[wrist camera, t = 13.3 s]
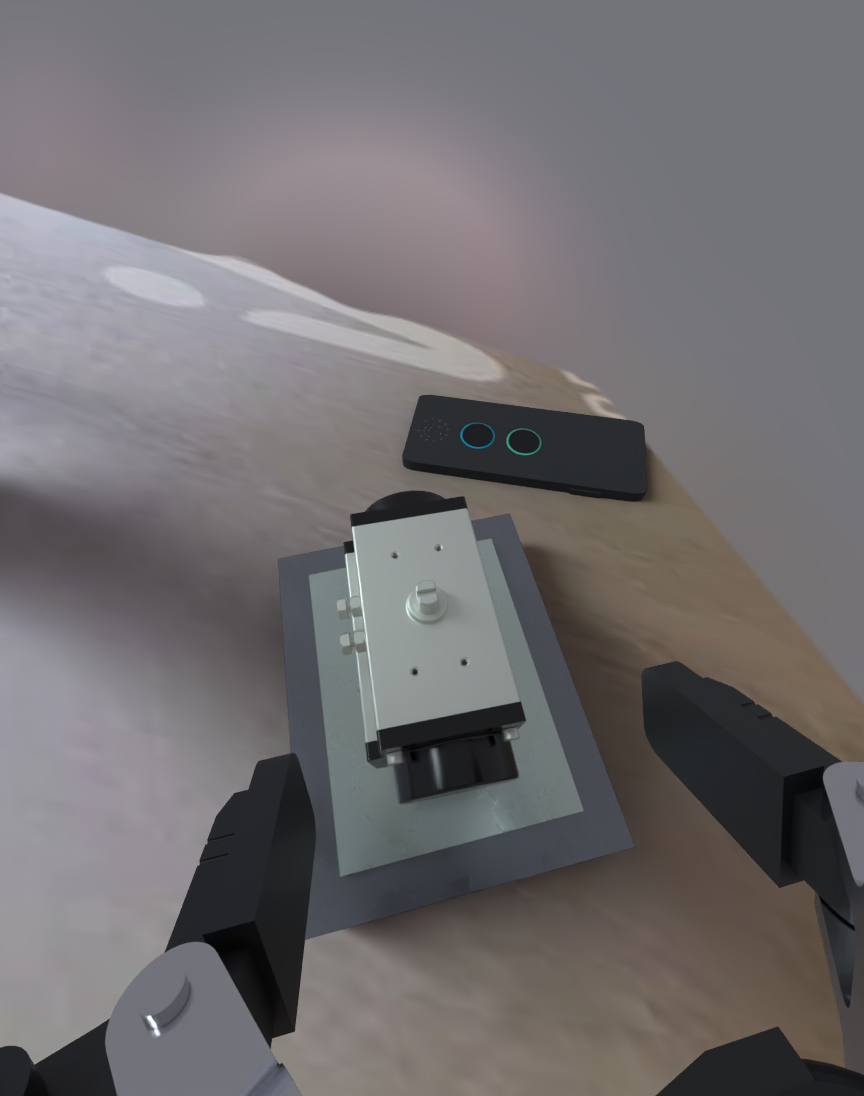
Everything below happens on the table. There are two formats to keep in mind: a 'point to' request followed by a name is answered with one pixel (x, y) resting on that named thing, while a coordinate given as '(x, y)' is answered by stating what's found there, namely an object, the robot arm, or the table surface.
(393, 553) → the pneumatic valve
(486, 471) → the smart home device
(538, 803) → the grey picture frame
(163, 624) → the table surface
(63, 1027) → the table surface
